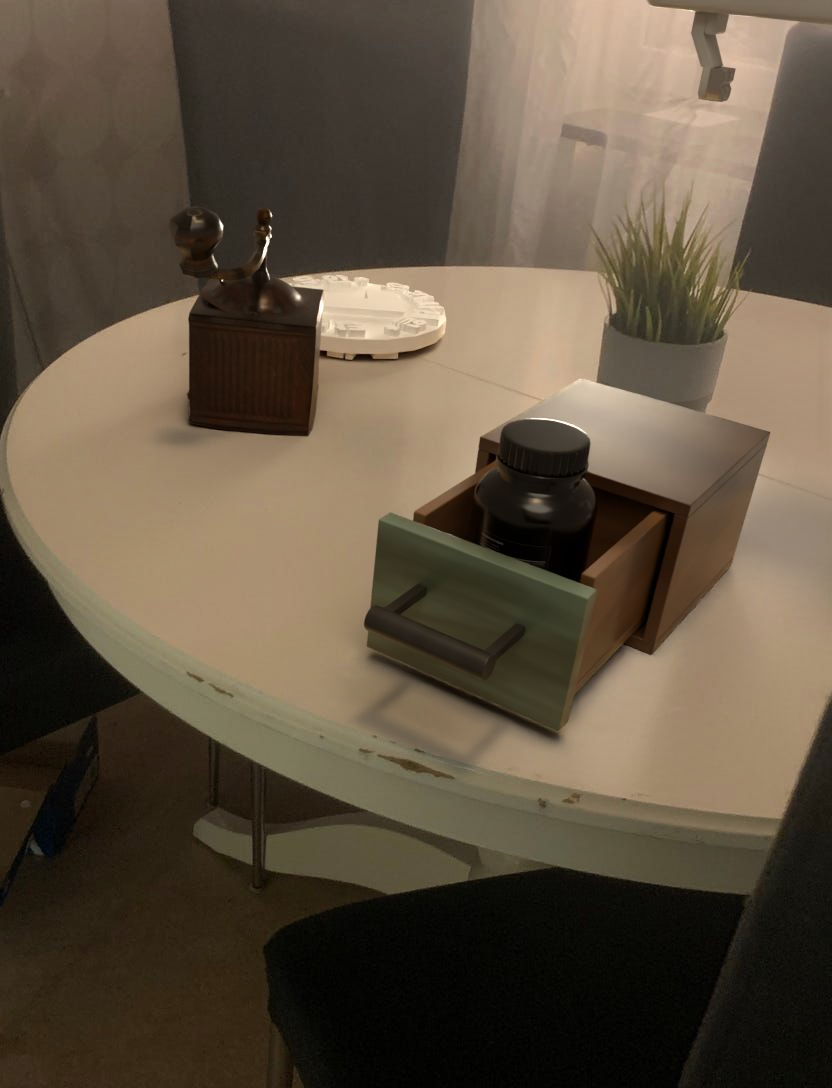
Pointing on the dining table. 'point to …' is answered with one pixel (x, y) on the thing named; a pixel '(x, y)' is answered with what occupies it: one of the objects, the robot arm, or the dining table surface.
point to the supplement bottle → (538, 498)
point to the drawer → (510, 602)
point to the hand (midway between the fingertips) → (789, 110)
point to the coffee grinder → (248, 335)
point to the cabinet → (663, 483)
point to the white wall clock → (374, 317)
